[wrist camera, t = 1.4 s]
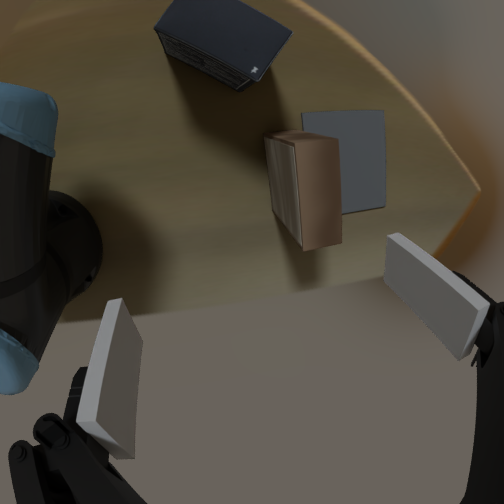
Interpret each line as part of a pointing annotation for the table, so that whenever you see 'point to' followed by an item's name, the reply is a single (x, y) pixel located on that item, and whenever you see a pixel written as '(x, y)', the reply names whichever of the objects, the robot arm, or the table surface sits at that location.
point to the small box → (222, 39)
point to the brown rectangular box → (306, 186)
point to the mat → (356, 154)
